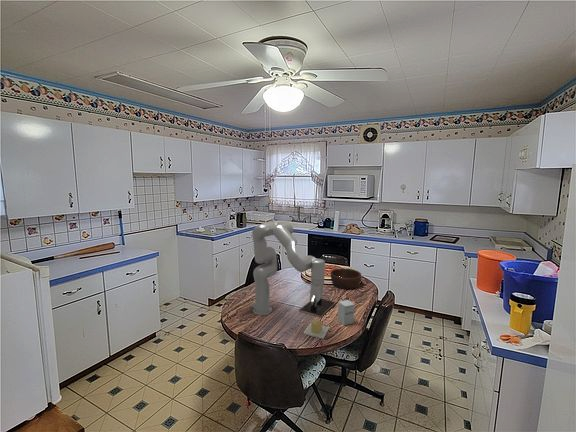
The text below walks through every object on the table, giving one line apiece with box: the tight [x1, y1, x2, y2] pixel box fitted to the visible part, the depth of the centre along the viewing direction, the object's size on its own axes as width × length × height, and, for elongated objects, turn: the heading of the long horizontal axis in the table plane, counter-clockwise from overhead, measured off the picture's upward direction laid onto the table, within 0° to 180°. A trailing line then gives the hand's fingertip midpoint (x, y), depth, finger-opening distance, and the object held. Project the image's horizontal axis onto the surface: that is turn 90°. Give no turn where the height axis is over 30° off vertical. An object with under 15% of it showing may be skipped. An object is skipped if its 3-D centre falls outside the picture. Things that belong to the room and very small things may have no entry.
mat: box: [302, 322, 330, 340], centre depth 167 cm, size 12×12×1 cm
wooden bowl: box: [330, 267, 362, 290], centre depth 238 cm, size 25×25×10 cm
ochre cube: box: [310, 319, 323, 334], centre depth 167 cm, size 5×5×5 cm
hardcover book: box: [298, 298, 336, 318], centre depth 197 cm, size 16×23×2 cm
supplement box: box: [337, 299, 355, 326], centre depth 178 cm, size 7×7×13 cm
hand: (316, 308), depth 166 cm, fingers open, 9 cm apart
